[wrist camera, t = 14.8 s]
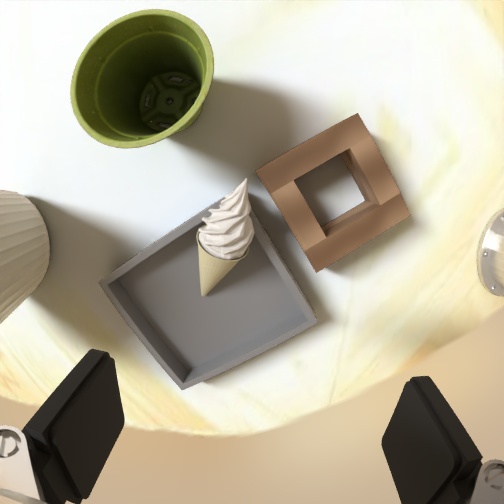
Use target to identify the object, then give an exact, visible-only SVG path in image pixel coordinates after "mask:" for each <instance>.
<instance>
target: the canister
mask: <svg viewBox="0 0 504 504" xmlns="http://www.w3.org/2000/svg"><path fill="white" fill-rule="evenodd" d="M49 241H50V239H49V237H48V231H47V228H46V224H45V223H44V220H43V217H42V216H41V214H40V212H39V210H37V208H36V206H35V205H34V204H32V203H31V201H30V200H29V199H27V198H26V197H25V196H23V195H20V194H18V193H16V192H12V191H6V190H0V324H1V323H2V322H3V321H4V320H5V319H6V318H7V317H8V316H9V315H10V314H11V313H12V312H13V311H14V310H15V309H16V308H17V307H18V306H19V305H20V304H21V303H22V302H23V301H24V300H25V299H26V298H27V297H28V296H29V295H30V294H31V293H32V292H33V291H34V290H35V289H36V288H37V287H38V286H39V284H40V283H41V281H42V280H43V278H44V275H45V273H46V272H47V267H48V265H49V257H50V244H49Z"/></svg>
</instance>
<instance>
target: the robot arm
mask: <svg viewBox="0 0 504 504" xmlns="http://www.w3.org/2000/svg"><path fill="white" fill-rule="evenodd" d="M477 268H478V273H479V277H480V280H481V282H482V284H483V286H484V287H485V288H486V289H487V290H488V291H489V292H491V293H493V294H494V295H498V296H504V208H503V209H501V210H499V211H498V212H497V213H496V214H495V215H494V216H493V217H492V218H491V219H490V221H489V222H488V224H487V225H486V227H485V230H484V232H483V234H482V237H481V240H480V244H479V248H478V256H477ZM123 426H124V413H123V408H122V403H121V398H120V392H119V386H118V380H117V374H116V368H115V361H114V359H113V358H111V357H110V355H109V353H108V352H104V351H100V350H95V349H91V350H89V351H88V353H87V354H86V355H85V356H84V357H83V358H82V359H81V360H80V362H79V363H78V364H77V365H76V366H75V367H74V368H73V370H72V371H71V372H70V373H69V374H68V375H67V377H66V378H65V379H64V380H63V381H62V382H61V383H60V385H59V386H58V387H57V388H56V389H55V391H54V392H53V393H52V394H51V395H50V396H49V398H48V399H47V400H46V401H45V402H44V404H43V405H42V406H41V407H40V408H39V410H38V411H37V412H36V413H35V415H34V416H33V417H32V418H31V419H30V421H29V422H28V423H27V424H26V426H25V427H24V428H23V430H22V431H20V430H19V429H17V428H16V427H12V426H8V425H6V426H5V425H2V426H0V504H65V502H66V500H67V501H70V502H72V503H75V504H80V503H81V501H82V499H87V498H88V497H89V495H90V493H91V491H92V489H93V487H94V485H95V483H96V481H97V479H98V477H99V475H100V473H101V470H102V469H103V467H104V465H105V463H106V460H107V458H108V456H109V454H110V452H111V450H112V448H113V446H114V444H115V442H116V440H117V438H118V437H119V434H120V433H121V431H122V429H123ZM382 448H383V451H384V454H385V457H386V460H387V463H388V465H389V468H390V471H391V474H392V477H393V480H394V482H395V486H396V488H397V491H398V494H399V497H400V500H401V503H402V504H504V461H502V460H489V461H487V462H485V463H484V464H482V463H481V459H482V458H483V457H482V455H481V453H480V452H479V450H478V449H477V447H476V446H475V444H474V442H473V441H472V439H471V437H470V436H469V434H468V433H467V431H466V430H465V428H464V427H463V425H462V423H461V422H460V420H459V419H458V417H457V416H456V414H455V413H454V411H453V410H452V408H451V407H450V405H449V404H448V402H447V401H446V400H445V398H444V397H443V395H442V394H441V392H440V391H439V389H438V388H437V386H436V385H435V384H434V382H433V381H432V379H431V378H430V377H429V376H419V377H412V378H411V379H410V381H408V382H406V384H405V386H404V388H403V392H402V394H401V396H400V399H399V401H398V403H397V406H396V408H395V411H394V413H393V415H392V418H391V420H390V422H389V424H388V427H387V429H386V431H385V433H384V435H383V438H382Z"/></svg>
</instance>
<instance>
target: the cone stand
mask: <svg viewBox="0 0 504 504" xmlns="http://www.w3.org/2000/svg"><path fill="white" fill-rule="evenodd" d="M338 154H340V155H341V156H342V158H343V160H344V162H345V163H346V165H347V167H348V169H349V171H350V172H351V174H352V176H353V178H354V180H355V182H356V184H357V185H358V187H359V189H360V191H361V193H362V195H363V197H364V199H365V201H364V202H362V203H361V204H359V205H357V206H356V207H354V208H352V209H351V210H349V211H347V212H346V213H344V214H342V215H341V216H339V217H337V218H336V219H334V220H332V221H331V222H329V223H327V224H326V225H324V226H322V227H320V225H319V223H318V222H317V220H316V218H315V216H314V215H313V213H312V211H311V209H310V208H309V206H308V204H307V203H306V201H305V199H304V197H303V196H302V194H301V192H300V191H299V189H298V187H297V186H296V184H295V182H294V181H293V180H295V179H297V178H298V177H300V176H302V175H303V174H305V173H307V172H308V171H310V170H312V169H314V168H315V167H317V166H319V165H321V164H322V163H324V162H326V161H327V160H329V159H331V158H333V157H334V156H336V155H338ZM256 173H257V175H258V176H259V178H260V179H261V181H262V183H263V184H264V186H265V188H266V189H267V191H268V192H269V194H270V196H271V197H272V199H273V201H274V202H275V204H276V205H277V207H278V209H279V210H280V212H281V214H282V215H283V217H284V219H285V220H286V222H287V224H288V225H289V227H290V229H291V230H292V232H293V234H294V236H295V237H296V239H297V241H298V242H299V244H300V246H301V247H302V249H303V251H304V253H305V254H306V256H307V258H308V259H309V261H310V263H311V265H312V266H313V268H314V270H315V272H316V273H317V272H319V271H320V270H322V269H324V268H325V267H327V266H329V265H330V264H332V263H334V262H335V261H337V260H339V259H340V258H342V257H344V256H345V255H347V254H349V253H350V252H352V251H354V250H355V249H357V248H359V247H360V246H362V245H364V244H365V243H367V242H368V241H370V240H372V239H373V238H375V237H376V236H378V235H380V234H381V233H383V232H384V231H386V230H388V229H389V228H391V227H392V226H394V225H396V224H397V223H399V222H400V221H402V220H403V219H405V218H407V217H408V216H410V213H409V211H408V208H407V206H406V204H405V202H404V200H403V197H402V195H401V193H400V191H399V189H398V187H397V185H396V183H395V181H394V179H393V177H392V175H391V173H390V171H389V169H388V167H387V165H386V163H385V161H384V159H383V157H382V155H381V153H380V151H379V150H378V148H377V146H376V144H375V142H374V140H373V139H372V137H371V135H370V133H369V131H368V130H367V128H366V126H365V125H364V123H363V121H362V119H361V118H360V116H359V114H358V113H357V114H355V115H353V116H351V117H349V118H347V119H345V120H343V121H342V122H340V123H338V124H336V125H334V126H332V127H331V128H329V129H327V130H325V131H323V132H321V133H320V134H318V135H316V136H314V137H313V138H311V139H309V140H307V141H305V142H304V143H302V144H300V145H298V146H297V147H295V148H293V149H291V150H290V151H288V152H286V153H285V154H283V155H281V156H279V157H278V158H276V159H274V160H273V161H271V162H269V163H268V164H266V165H264V166H263V167H261V168H259V169H258V170H256Z"/></svg>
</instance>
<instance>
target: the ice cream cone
mask: <svg viewBox="0 0 504 504" xmlns="http://www.w3.org/2000/svg"><path fill="white" fill-rule="evenodd" d="M219 206H220V209H209V210H208V211H209V212H211V213H212V215H211V216H210V217H208V218H207V217H203V218H202V221H204V222H205V223H206V224H207V225H204V226H202V227H201V228H199V230H198V232H197V236H196V237H197V242H198V252H199V271H200V286H201V295H202V296H206V295H207V294H208V292H209V291H210V290H211V289H212V288H213V287H214V286H215V285H216V284H217V283H218V282H219V281H220V280H221V279H222V278H223V277H224V276H225V275H226V274H227V273H228V272H229V271H230V270H231V269H232V268H233V267H234V266H235V265H236V264H237V262H238V261H239V260H240V259H242V258H244V257H245V256H246V255H247V253H248V251H249V244H250V243H251V241H252V238H253V235H254V233H255V232H254V228H253V223H252V219H251V218H250V217H249V213H250V210H251V205H250V202H249V199H248V188H247V178H245V180H244V181H243V182H242V183H241V184H240V185H239V186H238V187H237V188H236V189H235V190H234V191H233V192H232V193H230V194H228V195H226V196H225V199H224V200H222V201H221V205H219Z"/></svg>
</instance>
